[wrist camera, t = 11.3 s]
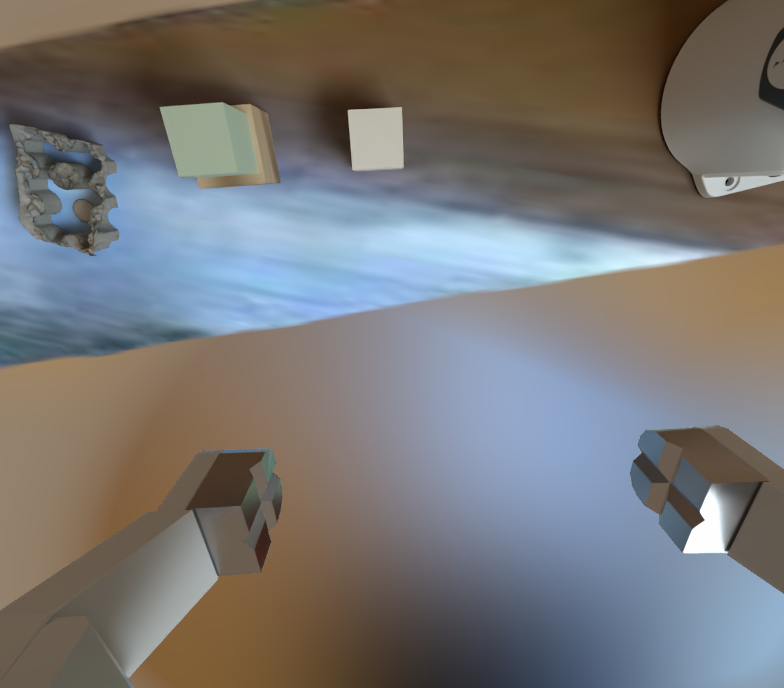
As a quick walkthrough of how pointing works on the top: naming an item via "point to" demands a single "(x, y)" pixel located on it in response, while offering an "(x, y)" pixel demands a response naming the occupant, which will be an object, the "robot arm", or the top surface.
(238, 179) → the oak block
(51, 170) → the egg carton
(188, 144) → the green cube
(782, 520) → the robot arm
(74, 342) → the top surface
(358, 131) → the cream cube
